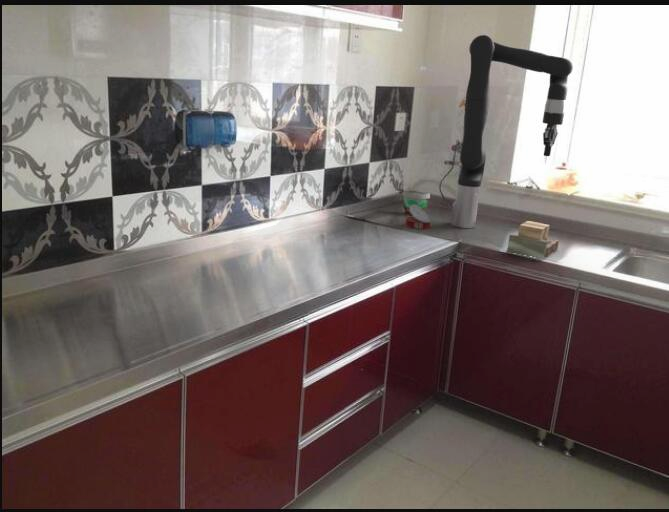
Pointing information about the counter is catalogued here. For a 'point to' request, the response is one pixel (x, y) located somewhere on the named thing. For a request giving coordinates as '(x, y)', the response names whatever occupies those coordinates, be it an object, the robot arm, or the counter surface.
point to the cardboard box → (534, 230)
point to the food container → (414, 200)
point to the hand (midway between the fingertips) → (546, 155)
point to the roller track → (531, 246)
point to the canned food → (418, 218)
